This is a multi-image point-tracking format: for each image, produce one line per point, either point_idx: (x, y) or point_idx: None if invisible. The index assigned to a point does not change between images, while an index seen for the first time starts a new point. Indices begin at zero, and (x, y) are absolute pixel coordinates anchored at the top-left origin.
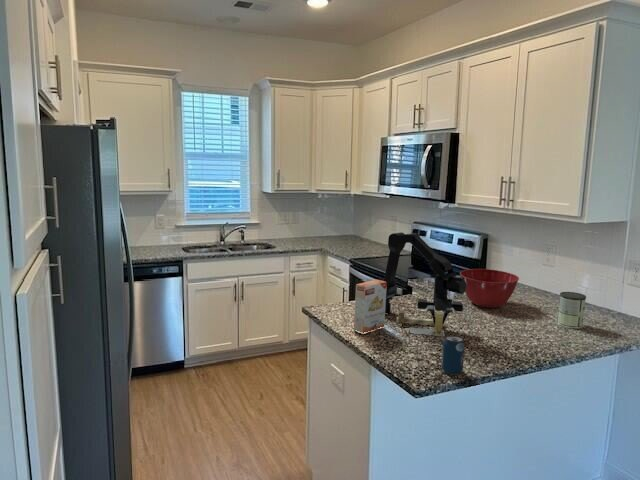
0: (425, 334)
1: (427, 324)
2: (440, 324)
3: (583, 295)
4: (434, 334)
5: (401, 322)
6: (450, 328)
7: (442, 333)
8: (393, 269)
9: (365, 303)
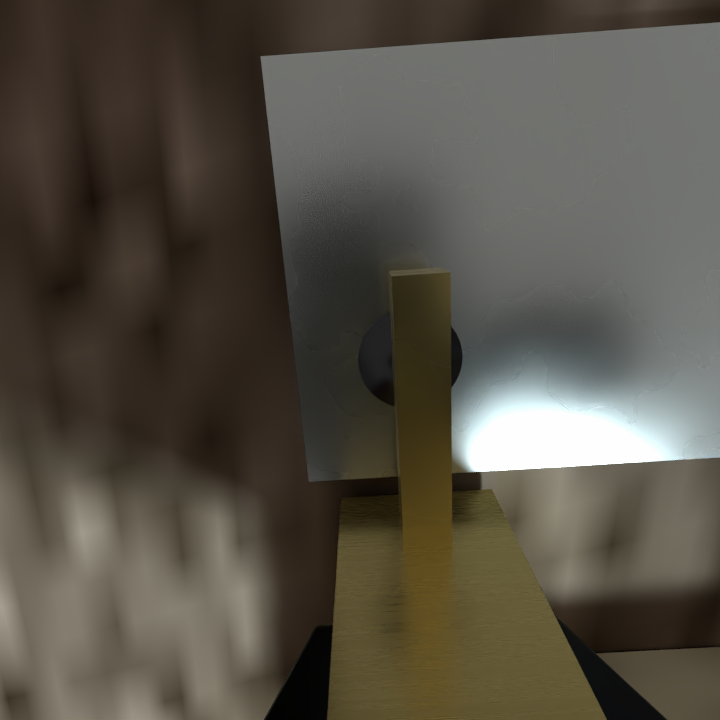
0: None
1: (627, 680)
2: (389, 592)
3: None
4: (544, 84)
5: None
6: (189, 643)
7: (327, 238)
8: None
9: None
